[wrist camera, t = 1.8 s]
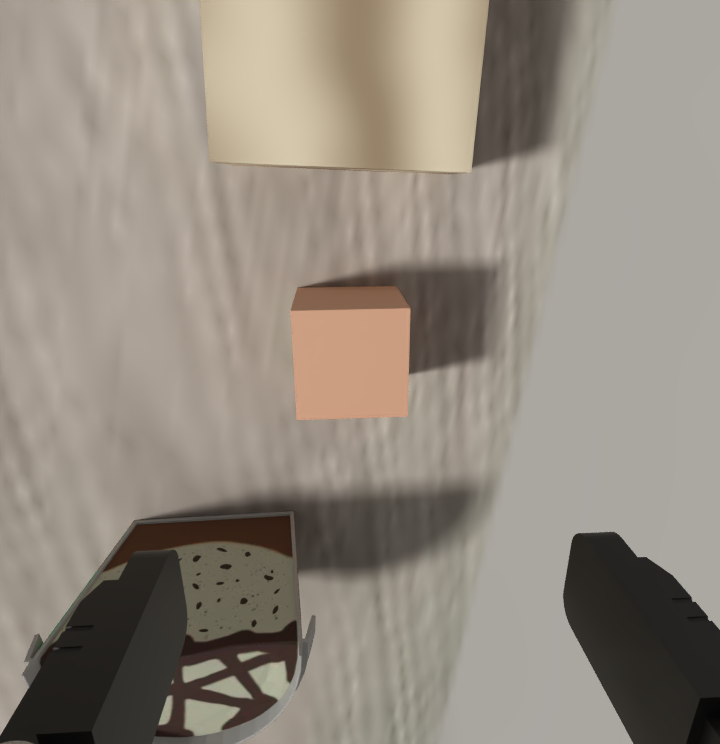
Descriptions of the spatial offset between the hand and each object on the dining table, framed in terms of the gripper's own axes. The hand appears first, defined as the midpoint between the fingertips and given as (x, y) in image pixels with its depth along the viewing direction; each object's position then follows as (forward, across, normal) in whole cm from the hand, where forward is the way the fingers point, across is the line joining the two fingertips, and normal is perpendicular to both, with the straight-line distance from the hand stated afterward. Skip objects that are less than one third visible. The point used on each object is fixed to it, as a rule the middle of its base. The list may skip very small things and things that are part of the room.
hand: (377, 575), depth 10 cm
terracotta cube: (+18, 0, 0) cm, 18 cm away
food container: (+18, +8, +14) cm, 24 cm away
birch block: (+18, 0, -13) cm, 22 cm away
